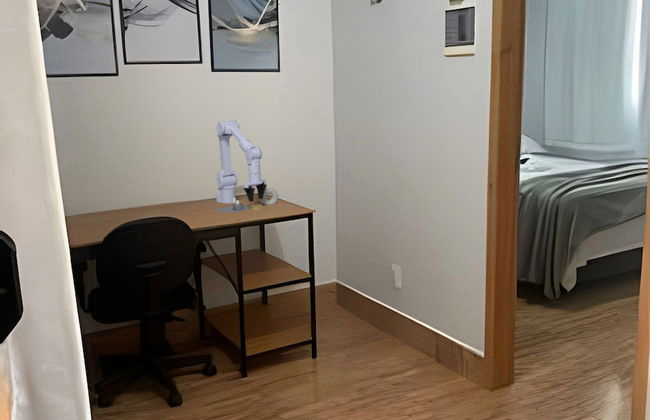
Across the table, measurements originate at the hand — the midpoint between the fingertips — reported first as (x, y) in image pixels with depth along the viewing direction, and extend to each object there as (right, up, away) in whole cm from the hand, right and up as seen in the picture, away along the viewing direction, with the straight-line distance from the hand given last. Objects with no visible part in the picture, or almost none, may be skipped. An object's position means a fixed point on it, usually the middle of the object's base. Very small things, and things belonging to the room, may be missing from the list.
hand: (256, 200), depth 311 cm
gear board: (-11, -6, +3) cm, 13 cm away
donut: (+5, -3, +13) cm, 15 cm away
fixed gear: (-9, -5, +1) cm, 10 cm away
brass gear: (0, -6, +1) cm, 6 cm away
